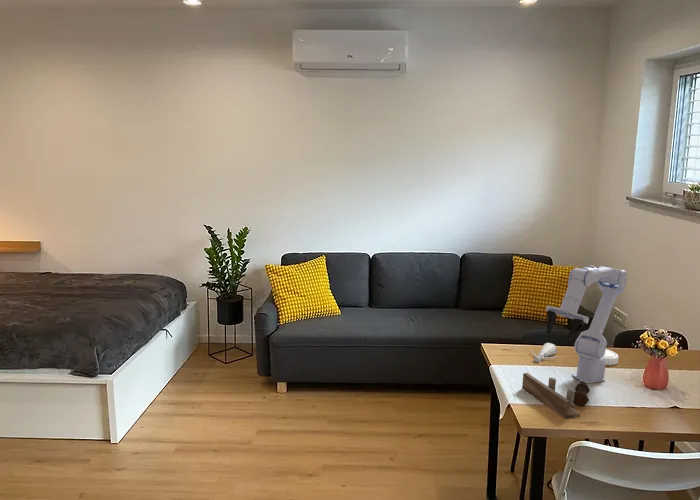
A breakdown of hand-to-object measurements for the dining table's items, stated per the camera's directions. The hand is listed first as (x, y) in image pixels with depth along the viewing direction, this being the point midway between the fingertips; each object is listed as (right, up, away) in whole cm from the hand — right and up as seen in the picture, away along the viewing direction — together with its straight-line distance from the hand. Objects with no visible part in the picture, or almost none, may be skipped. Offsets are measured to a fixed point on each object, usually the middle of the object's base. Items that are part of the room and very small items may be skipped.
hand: (558, 336), depth 207 cm
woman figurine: (+9, -15, +43) cm, 47 cm away
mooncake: (+32, -16, +41) cm, 55 cm away
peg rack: (-3, -23, 0) cm, 23 cm away
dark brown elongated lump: (+9, -23, +4) cm, 25 cm away
